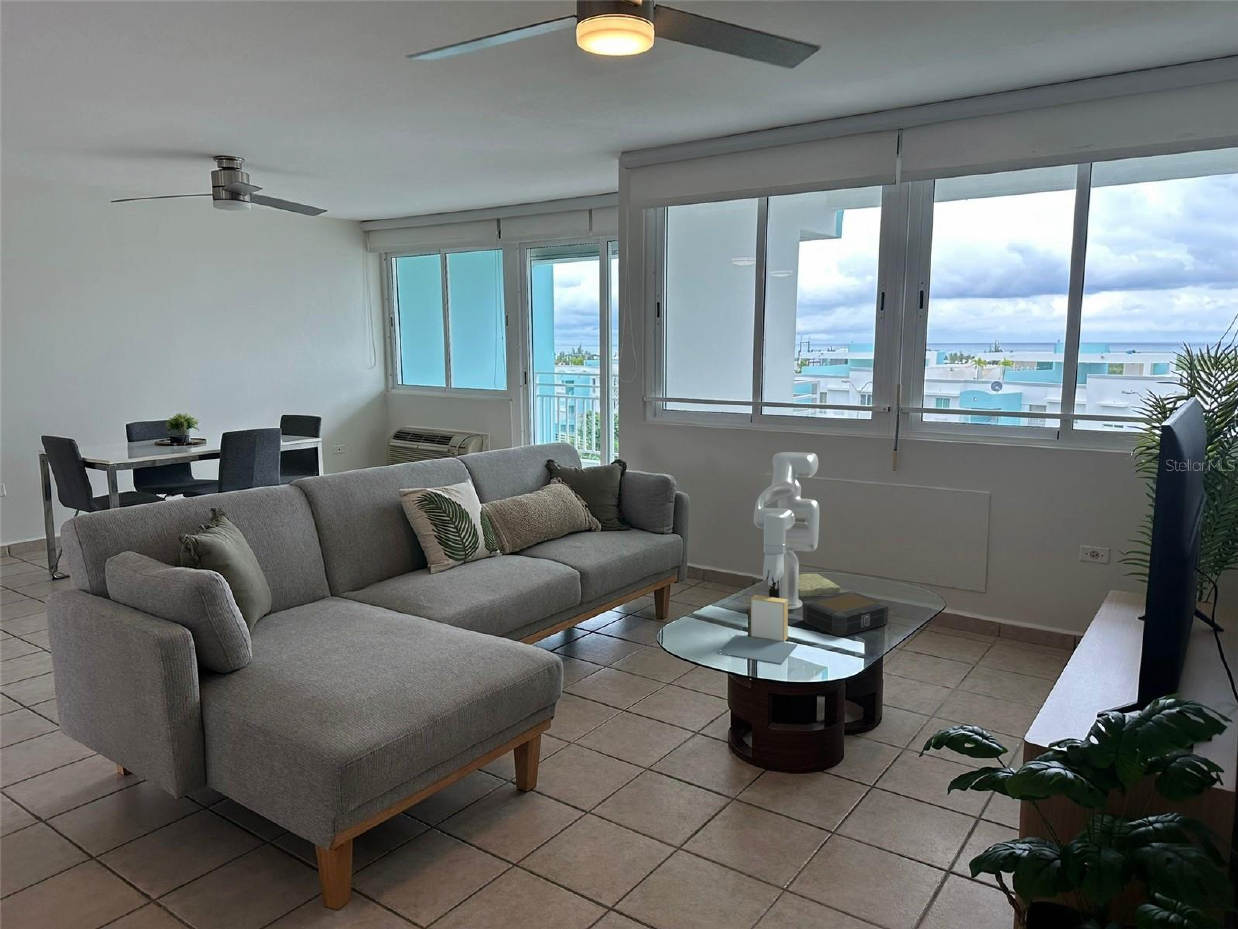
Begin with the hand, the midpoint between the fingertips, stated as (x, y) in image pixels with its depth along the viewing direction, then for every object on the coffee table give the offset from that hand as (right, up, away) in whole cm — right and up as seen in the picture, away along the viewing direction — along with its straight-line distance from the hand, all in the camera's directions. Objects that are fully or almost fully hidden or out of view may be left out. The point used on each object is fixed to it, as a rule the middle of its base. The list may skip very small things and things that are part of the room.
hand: (774, 598), depth 293 cm
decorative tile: (+24, -4, +52) cm, 57 cm away
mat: (-8, -15, -13) cm, 22 cm away
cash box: (+28, -11, +10) cm, 32 cm away
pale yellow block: (-2, -13, -3) cm, 14 cm away
